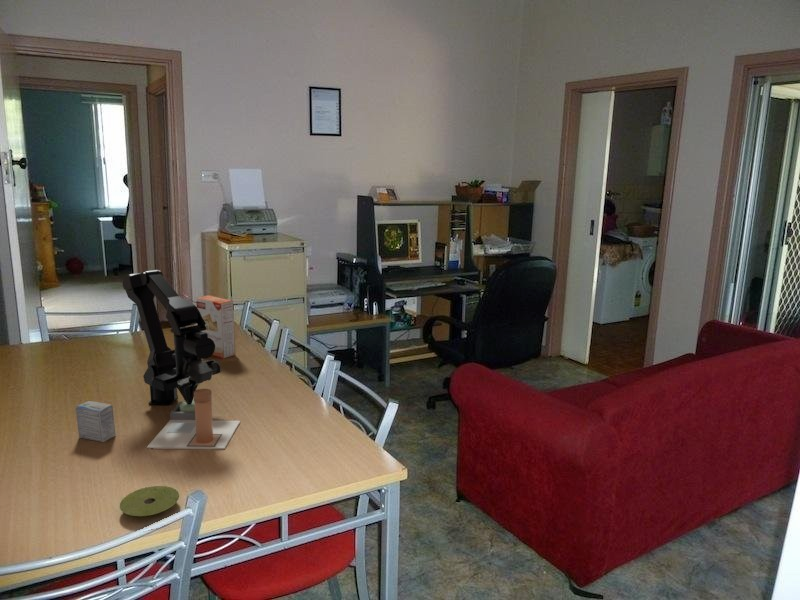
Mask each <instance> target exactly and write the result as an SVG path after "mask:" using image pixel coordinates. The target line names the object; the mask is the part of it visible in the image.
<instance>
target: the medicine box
mask: <svg viewBox="0 0 800 600" xmlns="http://www.w3.org/2000/svg"><path fill="white" fill-rule="evenodd" d="M75 413H76V414H75V415H76V421H77V422H76V423H77V431H78V437H79V438H81V439H85V440H91V441H95V442H99V443H105V442H107V441H108V440H111V439H112V438H113V437H116V435H117V434H116V433H117V432H116V425H115V416H114V407H113V405H112V404H109V403H104V402H98V401H91V400H88V401H85V402H83V403H81V404H78V405H76V407H75Z"/></svg>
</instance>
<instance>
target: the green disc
mask: <svg viewBox="0 0 800 600" xmlns="http://www.w3.org/2000/svg"><path fill="white" fill-rule="evenodd" d="M179 498H180V493H179V491H178V490H177V489H176V488H173V487H172V486H166V485H155V486H147V487H143V488H140V489H136V490H134V491H133V492H130V493H129V494H127V495H126V496H125V497H123V498H122V499H121V500H120V502H119V509H120V511H121V512H122V513H124V514H125V515H127V516H133V517H134V516H135V517H147V516H152V515H153V516H154V515H157V514H160V513H162V512H164V511H167V510H169V509H170V508H172V507H173V506H175V504H176V503H177V502H178V500H179Z"/></svg>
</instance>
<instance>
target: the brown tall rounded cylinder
mask: <svg viewBox="0 0 800 600" xmlns="http://www.w3.org/2000/svg"><path fill="white" fill-rule="evenodd" d="M212 394H213V393H212V389H209V388H199V389H196V391H194V398H193V401H195V421H196V441H197V442H198V443H202V444H204V443H209V442H211V441H212V440H213V426H212V420H213V407H212V404H213V403H212V402H213V401H212V397H213V396H212Z"/></svg>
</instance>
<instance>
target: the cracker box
mask: <svg viewBox="0 0 800 600" xmlns="http://www.w3.org/2000/svg"><path fill="white" fill-rule="evenodd" d="M195 302H196V303H195V305H196V307H197V308H198V310H199V312H200V314H201V316H202V318H203V320H204V321H205V323H206V324H205V326H206V330H204V331H201V332H206V333H207V334H208V338H211V339H212V340H213V341H214V344H215V351H214V353H213V354H212V356H214V357H217V358H220V359H223V360H224V359H228V358H231V357H233V356H236V337H235V336H236V335H235V313H234V300H232V299H231V300H230V299H227V298H222V297H218V296H215V295H214V296H213V295H207V294H206V295H202V296H198V297H196V298H195Z"/></svg>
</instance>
